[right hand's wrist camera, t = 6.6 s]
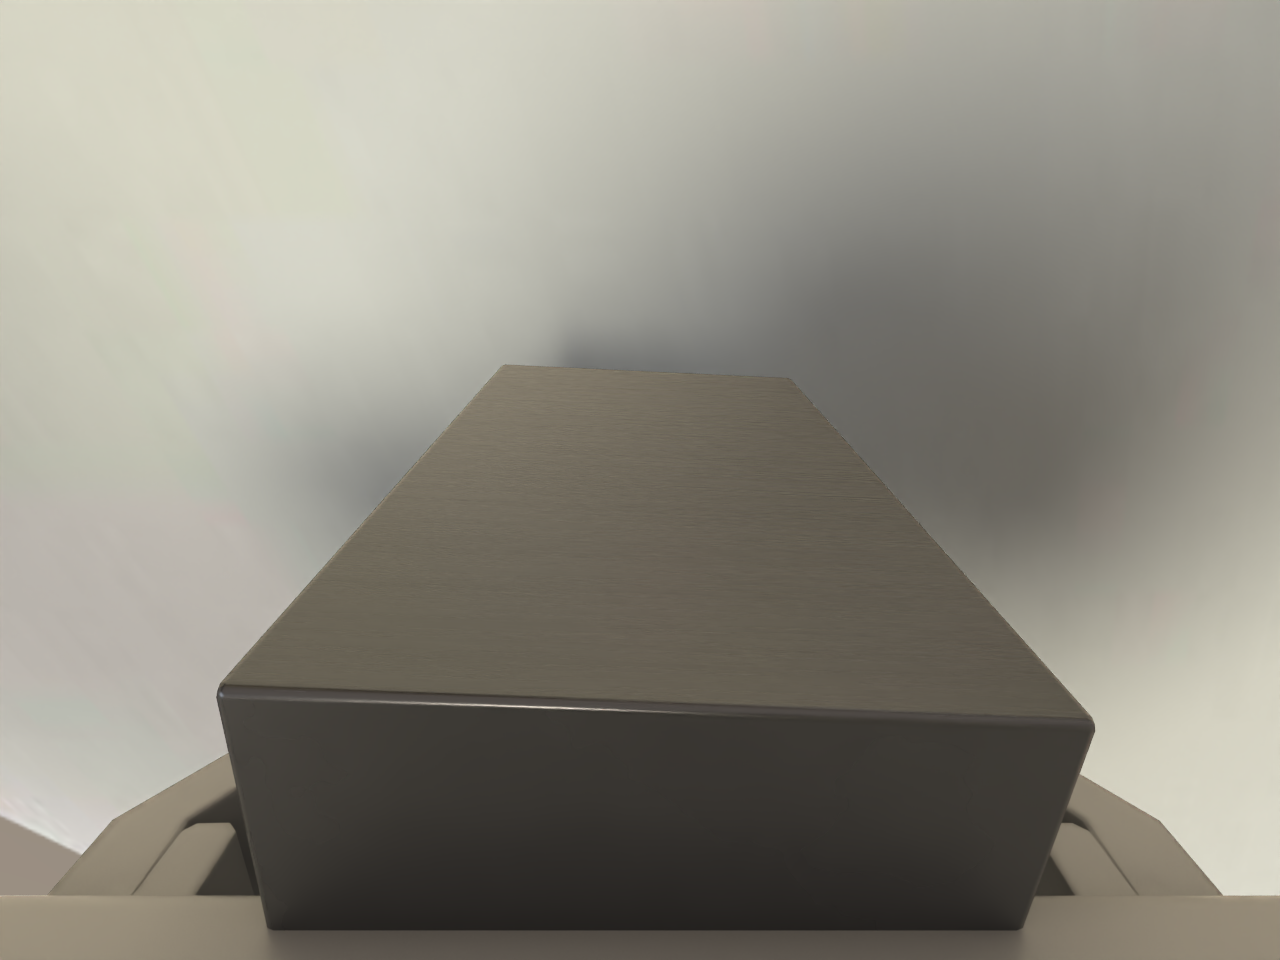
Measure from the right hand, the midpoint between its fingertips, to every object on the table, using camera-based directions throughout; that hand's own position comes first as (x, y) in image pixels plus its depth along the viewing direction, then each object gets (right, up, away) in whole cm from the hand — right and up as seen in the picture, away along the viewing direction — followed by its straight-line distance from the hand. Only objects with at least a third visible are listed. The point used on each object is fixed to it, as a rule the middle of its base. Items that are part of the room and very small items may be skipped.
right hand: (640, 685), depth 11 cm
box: (0, -5, +7) cm, 8 cm away
